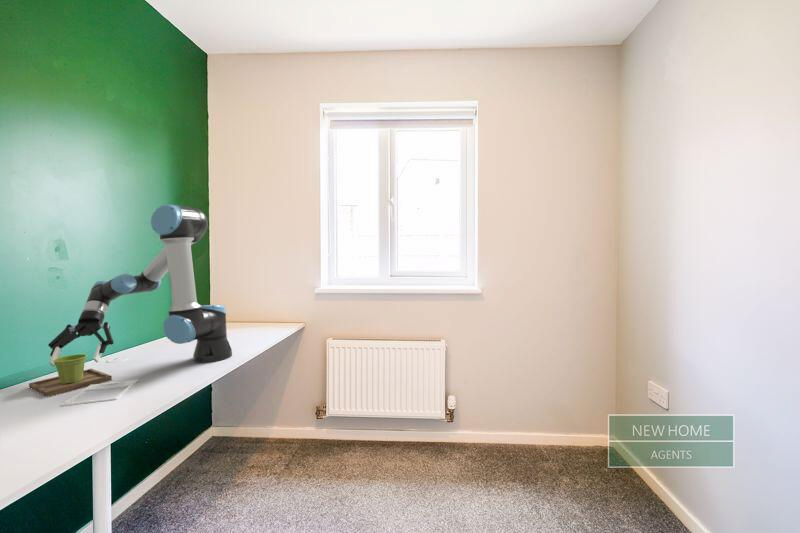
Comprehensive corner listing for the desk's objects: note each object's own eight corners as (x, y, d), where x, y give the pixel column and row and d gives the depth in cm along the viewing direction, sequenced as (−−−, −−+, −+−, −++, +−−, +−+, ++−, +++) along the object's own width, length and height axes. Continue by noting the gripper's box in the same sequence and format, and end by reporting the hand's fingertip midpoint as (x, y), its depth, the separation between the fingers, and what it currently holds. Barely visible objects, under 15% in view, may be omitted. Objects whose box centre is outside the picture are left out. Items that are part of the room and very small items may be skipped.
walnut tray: (111, 380, 139) (111, 375, 139) (47, 397, 124) (46, 392, 124) (91, 372, 148) (91, 368, 148) (29, 387, 133) (28, 383, 133)
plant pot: (47, 384, 133) (45, 360, 133) (76, 376, 142) (75, 353, 142) (66, 387, 130) (64, 362, 130) (94, 378, 139) (93, 354, 139)
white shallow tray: (138, 379, 137) (116, 397, 120) (138, 382, 137) (116, 401, 120) (90, 384, 133) (60, 404, 116) (90, 387, 133) (60, 407, 116)
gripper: (132, 317, 158) (117, 363, 144) (61, 322, 152) (38, 371, 138) (125, 307, 152) (109, 354, 139) (51, 311, 146) (27, 361, 133)
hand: (74, 362), depth 138 cm, fingers open, 13 cm apart
